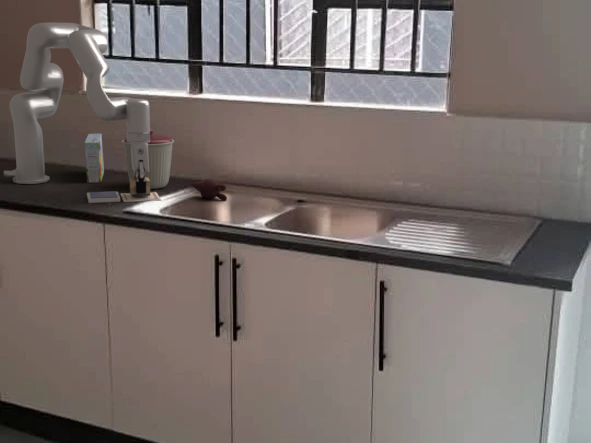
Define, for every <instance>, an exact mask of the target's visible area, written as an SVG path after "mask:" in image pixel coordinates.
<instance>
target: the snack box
mask: <svg viewBox="0 0 591 443" xmlns="http://www.w3.org/2000/svg"><path fill="white" fill-rule="evenodd" d="M103 150H104V149H103V135H102V133H88V134H87V137H86V139H85V140H84V154H85V170H86V172H85V173H86V183H87V184H101V183H102V180H103V176H104V173H105V164H104V152H103Z"/></svg>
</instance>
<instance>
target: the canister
mask: <svg viewBox="0 0 591 443" xmlns="http://www.w3.org/2000/svg"><path fill="white" fill-rule="evenodd" d="M121 143H122V144H123V149H124V156H125V162H126V170H127V174H128V176H127V177H128V180H129V182H130V178H134V170H133V169H132V161H131V143H129V142H127V136H126V137H125V138H123V139H122V140H121ZM174 143H175V140H174V139H173V138H171V136H168V135H164V134H159V133H158V134H156V133H154V129H153V128H152V127H150V142H148V143H147V144H148V155H149V172H148V173H147V171H145V178H146V177H148V179H149V180H150V190H155V189H156V190H157V189H160V188H161V189H162V188H164V187H166V186H167V185H168V183H169V179H170V176H171V175H170V174H171V173H170V172H171V167H172V166H171V164H172V154H173V144H174Z"/></svg>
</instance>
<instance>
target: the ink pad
mask: <svg viewBox="0 0 591 443" xmlns="http://www.w3.org/2000/svg"><path fill="white" fill-rule="evenodd" d="M86 197H87V201H88V204H96V203H115V202H116V203H117V202H121V195H120V194H119V192H118V191H114V190H113V191H94V192H93V191H91V192H86Z"/></svg>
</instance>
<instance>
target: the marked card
mask: <svg viewBox="0 0 591 443" xmlns="http://www.w3.org/2000/svg"><path fill="white" fill-rule="evenodd" d="M120 198H121V200H122V201H123V203H130V202H134V203H135V202H149V201H150V200H158V201H162V199H161V197H160V196H159V194H158V192H156V191H150V196H131V194H130V192H127V193H126V192H125V193H123V192H122V193H120ZM150 202H151V201H150Z"/></svg>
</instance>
